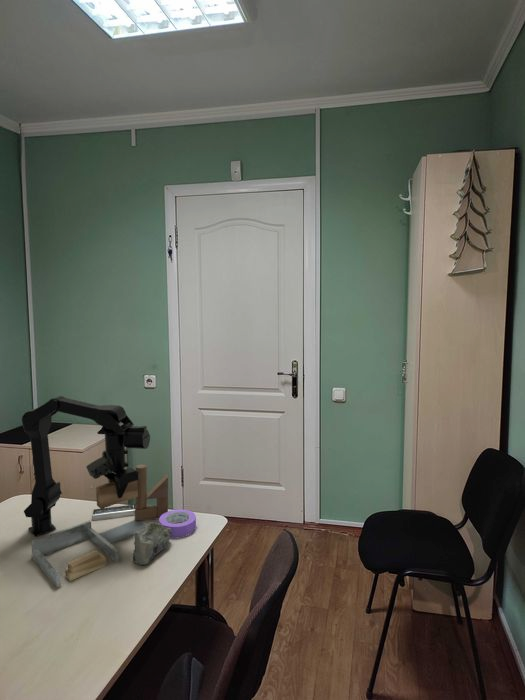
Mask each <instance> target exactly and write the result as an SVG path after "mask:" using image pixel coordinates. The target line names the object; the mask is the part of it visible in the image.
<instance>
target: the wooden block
mask: <svg viewBox="0 0 525 700" xmlns="http://www.w3.org/2000/svg"><path fill="white" fill-rule="evenodd" d="M135 470H136V471H137V472H139V480H137V488H138V497H135V498H134V499H135V503H134V504H135V515H134V520H135V521H136V520H140V521H145V520H156V519H157V520H159V518H160V516H161V515H162V514H164V513H166V512H168V511H169V475H168V473H166V474H165V475H164V476H163V477H162V478H161V479H160V481H158V482H157V484H155V485H154V486H153V487H152V488H151V489H150V490H149V491H148V492H147V486H148V484H147V483H148V482H147V480H148V479H147V478H148V477H147V473H148V471H147V470H148V467H147V465H146V464H137V465H135ZM151 499H152V500H153V499H156V505H152V504H147V501H148V500H151Z"/></svg>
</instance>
